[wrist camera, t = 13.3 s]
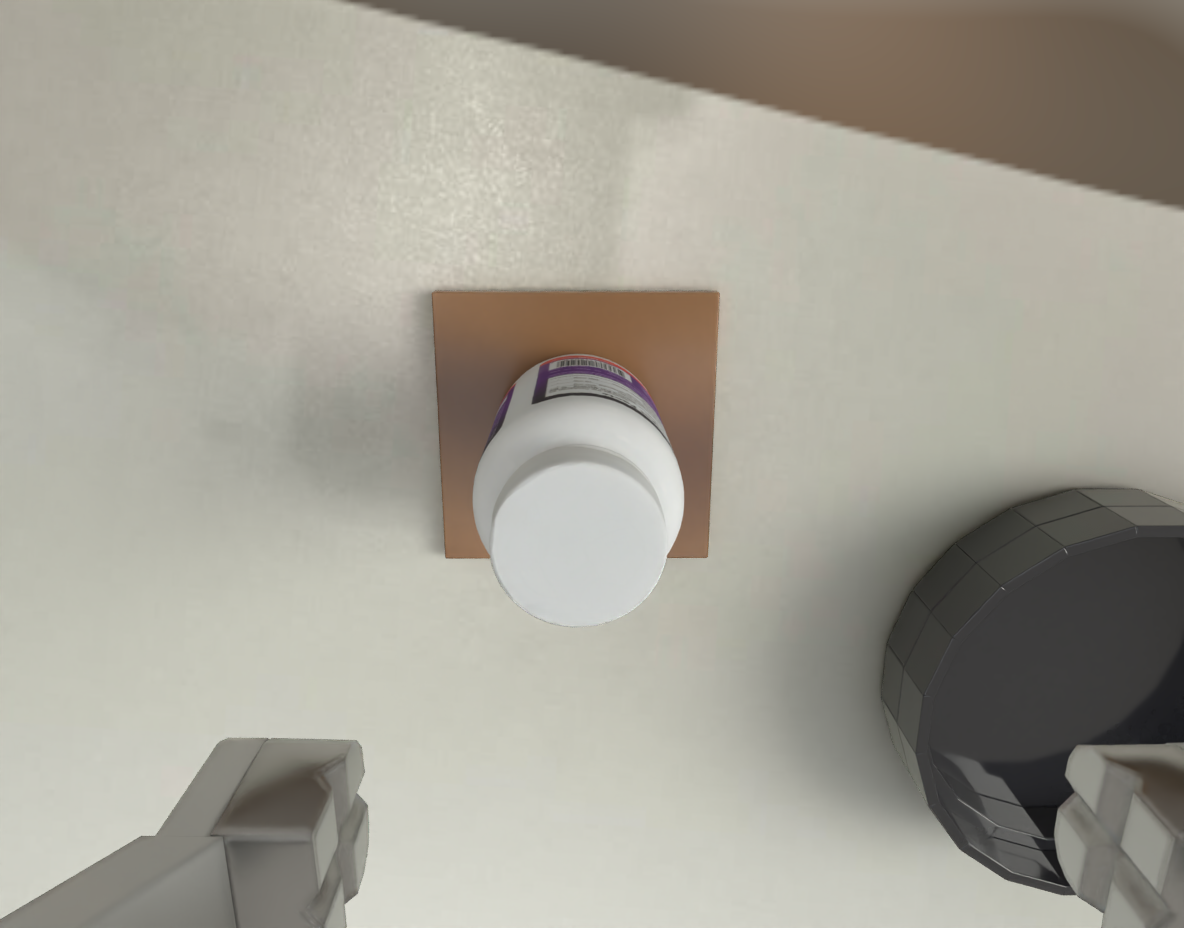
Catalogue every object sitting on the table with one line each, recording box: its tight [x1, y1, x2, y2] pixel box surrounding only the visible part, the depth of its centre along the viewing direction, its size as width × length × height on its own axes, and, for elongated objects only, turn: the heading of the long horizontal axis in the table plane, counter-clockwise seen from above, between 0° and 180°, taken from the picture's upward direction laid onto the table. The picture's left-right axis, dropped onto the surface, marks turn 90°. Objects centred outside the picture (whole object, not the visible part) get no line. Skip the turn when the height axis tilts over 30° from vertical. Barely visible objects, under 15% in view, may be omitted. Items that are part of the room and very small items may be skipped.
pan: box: [881, 489, 1184, 895], centre depth 30 cm, size 14×14×4 cm
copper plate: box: [432, 291, 720, 558], centre depth 29 cm, size 9×9×1 cm
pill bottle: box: [473, 354, 684, 627], centre depth 24 cm, size 5×5×10 cm
